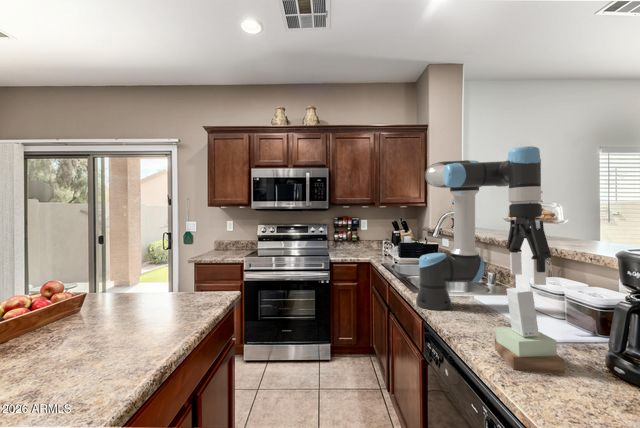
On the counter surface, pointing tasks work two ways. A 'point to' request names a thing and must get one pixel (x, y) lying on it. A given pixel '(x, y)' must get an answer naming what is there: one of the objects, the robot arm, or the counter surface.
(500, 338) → the tower top
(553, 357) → the tower base
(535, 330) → the skincare box
